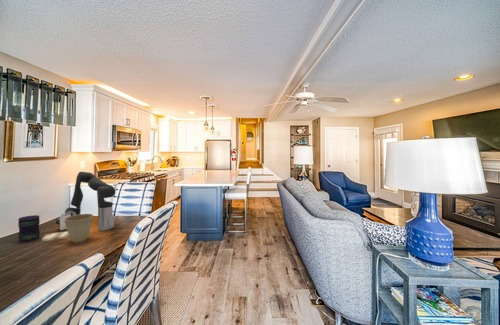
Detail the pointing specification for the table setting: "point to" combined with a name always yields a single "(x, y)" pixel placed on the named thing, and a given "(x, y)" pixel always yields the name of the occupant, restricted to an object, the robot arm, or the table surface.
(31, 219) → the storage jar
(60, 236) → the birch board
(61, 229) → the aluminium block
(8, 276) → the table surface
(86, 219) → the plant pot
